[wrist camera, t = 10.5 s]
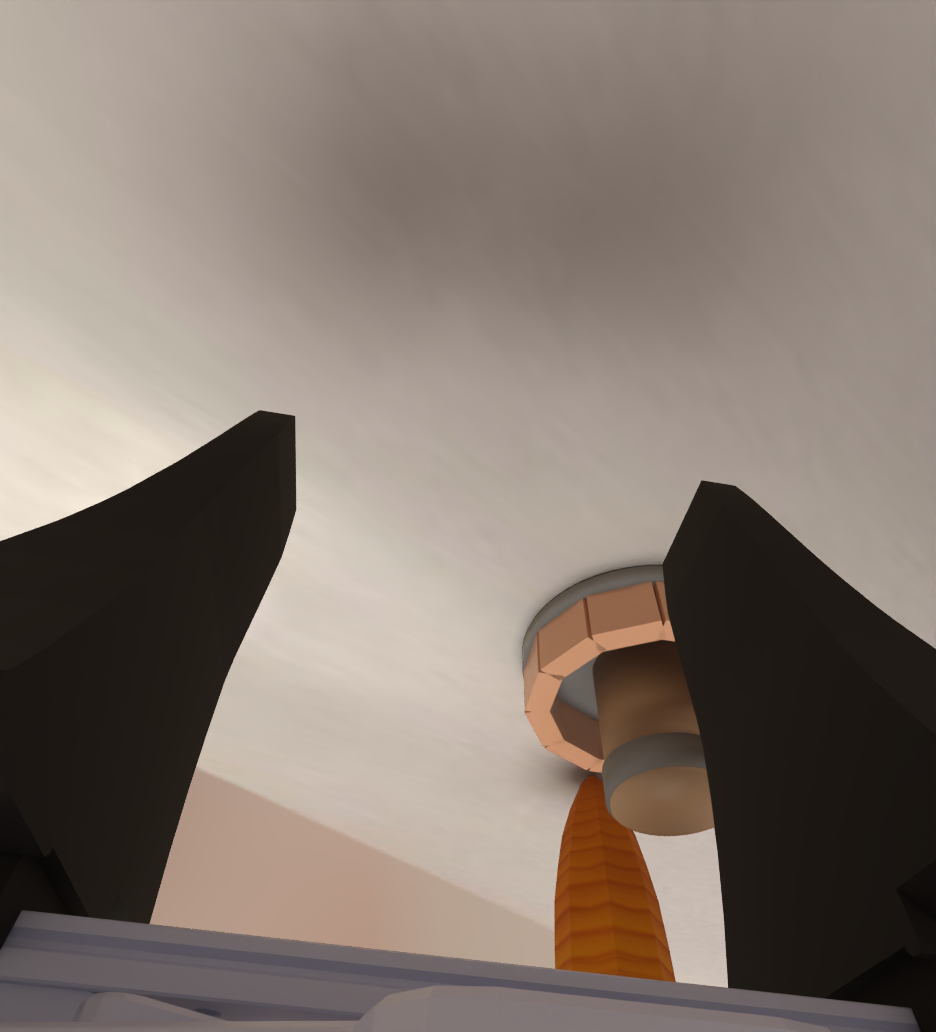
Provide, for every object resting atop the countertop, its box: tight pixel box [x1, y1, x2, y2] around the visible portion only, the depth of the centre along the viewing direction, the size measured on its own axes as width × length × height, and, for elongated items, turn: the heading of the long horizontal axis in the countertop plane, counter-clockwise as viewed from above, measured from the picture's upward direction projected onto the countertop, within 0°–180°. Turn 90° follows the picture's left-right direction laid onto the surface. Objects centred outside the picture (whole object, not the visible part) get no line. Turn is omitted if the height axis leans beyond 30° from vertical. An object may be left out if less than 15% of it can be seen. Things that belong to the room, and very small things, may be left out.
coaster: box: [522, 566, 675, 773], centre depth 27 cm, size 10×10×3 cm
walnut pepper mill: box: [593, 640, 714, 836], centre depth 25 cm, size 5×5×6 cm
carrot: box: [555, 775, 676, 982], centre depth 28 cm, size 5×5×15 cm
